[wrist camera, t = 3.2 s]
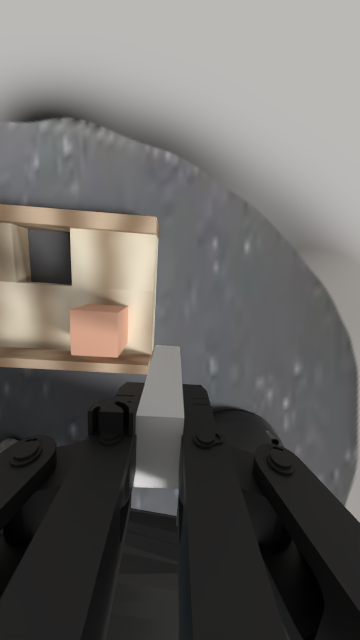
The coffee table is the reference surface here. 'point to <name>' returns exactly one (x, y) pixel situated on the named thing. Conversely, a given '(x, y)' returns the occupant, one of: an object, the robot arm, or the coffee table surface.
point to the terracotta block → (98, 330)
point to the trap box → (77, 287)
